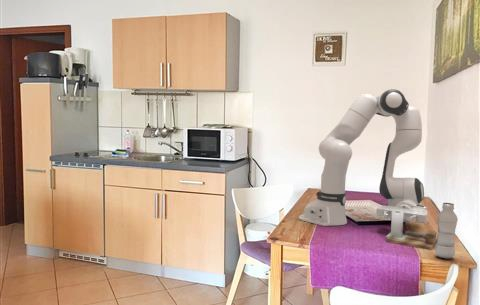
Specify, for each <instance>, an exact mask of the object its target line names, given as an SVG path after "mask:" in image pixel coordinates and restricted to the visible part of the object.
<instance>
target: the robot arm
mask: <svg viewBox="0 0 480 305" xmlns="http://www.w3.org/2000/svg"><path fill="white" fill-rule="evenodd" d="M375 115H379V116H381V117H385V118H386V117H392V118H393V119H394V123H395V135H394V138H393V140H392V142H389V144H388V145H387V148H386V153H385V158H384V163H383V167H382V168H383V169H382V174H381V179H380V183H379V194H380V195H381V196H382V197H383V198H384V199H386V200H388V199H403V201H401V202H400V203H398V204H397V205H396V206H395V207H392V206H388V205H380V206H378V207H377V208H376V216H378V217H383V218H385V219H388V218H390V219H392V211H401V212H403V213H404V214H403V223H413V222H415V223H421V224H427V223H428V207H427V206H424V205H423V203H422V202H423V200H424V198H425V188H424V185H423V183H422V181H420V179H419V178H417V177H394V176H393V175H394V170H395V166H396V165H395V164H396V160H397V158H398V157H400V155H403V154H405V153H408V152H410V151H412V150H415V149H416V148H418V147H419V146H420V144H421V143H422V138H423V127H422V125H423V124H422V118H421V112H420V110H419V109H418V108H417V107H415V106H412V105H410V104H409V102H408V101H407V99H406V98H405V95H404V93H403V92H401V91H400V90H397V89H394V88H393V89H392V88H391V89H388V90H385V91H384V92H382V93H380V95H378V96H374V95H372V94H370V93H362V94H360V95H359V96H358V97H357V98H356V99H355V100H354V101H353V103H352V104H351V105H350V106H349V108H348V110H347V111H346V112H345V113H344V115H343V117H342V118H341V120H340V121H339V122H338V123H337V125H336V126H335V127H334V128H333V129H331V131H330V132H329V134H328V135H326V136H325V138H324V139H323V140H322V141H320V142H319V145H318V153H319V155H320V156H321V158H322V159H324V165H323V170H322V173H321V176H320V177H321V180H320V189H319V191H318V192H316V193H315V196H316V199H314V200H312V201H311V202H309V203H308V204H306V206H305V208H304V210H303V213H302V214H300V215H298V220H299V221H303V222H307V223H310V224H311V223H312V224H315V225H319V226H322V227H329V226H343V225H346V224H347V223H348V221H347V216H346V202H347V195H346V194H347V193H346V178H347V171H348V168H349V164H350V161H351V158H352V156H353V150H352V148H351V144H352V143H354V141H355V140H356V139H358V138H359V137H360V136H361V135H362V133H363V132H364V130H365V129H366V128H367V126H368V125H369V123H370V122H371V120H372V119H373V118H374V116H375Z"/></svg>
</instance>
